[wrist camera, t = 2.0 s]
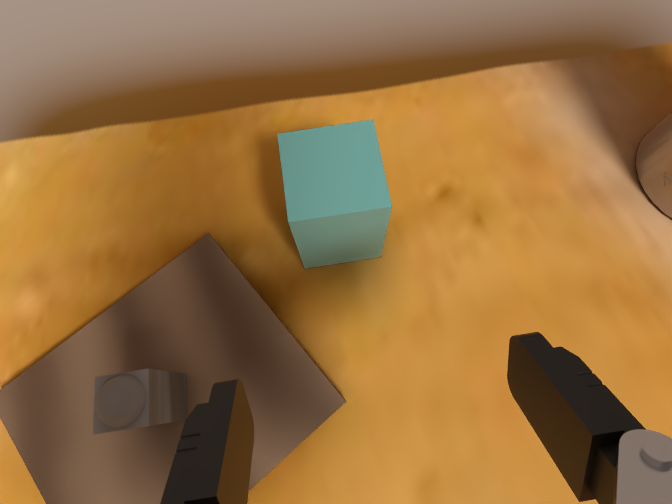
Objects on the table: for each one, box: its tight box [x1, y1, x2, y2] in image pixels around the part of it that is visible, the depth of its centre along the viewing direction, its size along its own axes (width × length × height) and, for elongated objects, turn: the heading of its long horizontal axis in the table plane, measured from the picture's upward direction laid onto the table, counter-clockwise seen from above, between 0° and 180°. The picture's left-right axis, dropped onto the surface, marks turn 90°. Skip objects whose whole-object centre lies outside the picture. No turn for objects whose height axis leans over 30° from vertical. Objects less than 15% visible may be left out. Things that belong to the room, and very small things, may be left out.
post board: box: [0, 233, 346, 504], centre depth 22 cm, size 16×14×7 cm
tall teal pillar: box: [277, 120, 392, 269], centre depth 25 cm, size 5×5×8 cm
